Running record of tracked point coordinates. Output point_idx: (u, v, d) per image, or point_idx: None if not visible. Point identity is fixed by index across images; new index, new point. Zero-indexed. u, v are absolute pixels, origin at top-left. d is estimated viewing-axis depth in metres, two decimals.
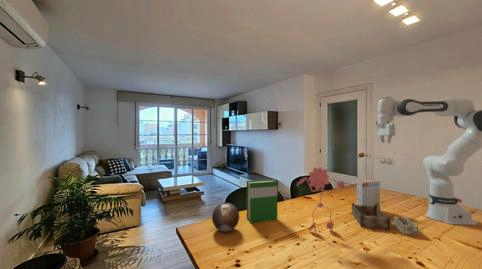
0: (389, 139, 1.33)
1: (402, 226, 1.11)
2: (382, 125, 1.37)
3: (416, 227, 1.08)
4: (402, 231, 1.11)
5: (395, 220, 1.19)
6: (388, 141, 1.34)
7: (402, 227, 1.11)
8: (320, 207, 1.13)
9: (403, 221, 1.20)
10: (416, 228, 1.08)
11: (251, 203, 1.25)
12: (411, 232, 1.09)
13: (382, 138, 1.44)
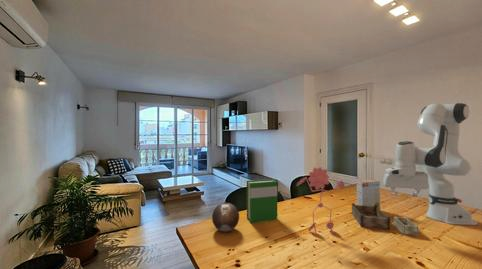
0: None
1: (402, 226, 1.11)
2: (411, 176, 1.12)
3: (416, 227, 1.08)
4: (402, 231, 1.11)
5: (395, 220, 1.19)
6: None
7: (402, 227, 1.11)
8: (320, 207, 1.13)
9: (403, 221, 1.20)
10: (416, 228, 1.08)
11: (251, 203, 1.25)
12: (411, 232, 1.09)
13: None
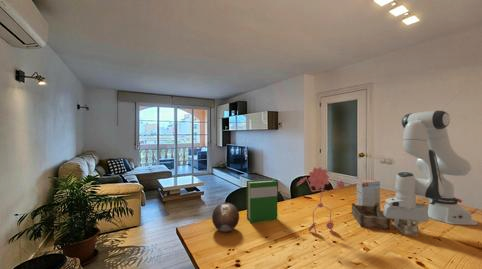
0: None
1: (402, 226, 1.11)
2: (411, 208, 1.12)
3: (416, 227, 1.08)
4: (402, 231, 1.11)
5: None
6: None
7: (402, 227, 1.11)
8: (320, 207, 1.13)
9: (403, 221, 1.20)
10: (416, 228, 1.08)
11: (251, 203, 1.25)
12: (411, 232, 1.09)
13: (395, 221, 1.16)
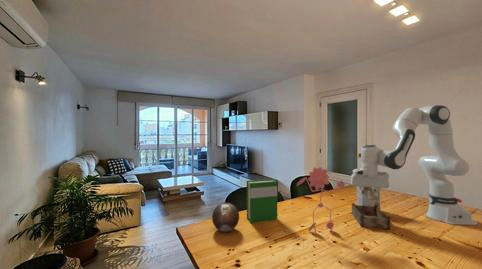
0: None
1: (365, 192, 1.24)
2: (374, 176, 1.25)
3: (377, 192, 1.21)
4: (365, 196, 1.24)
5: (361, 189, 1.32)
6: None
7: (365, 193, 1.24)
8: (320, 207, 1.13)
9: (368, 190, 1.32)
10: (377, 193, 1.21)
11: (251, 203, 1.25)
12: (373, 197, 1.22)
13: None
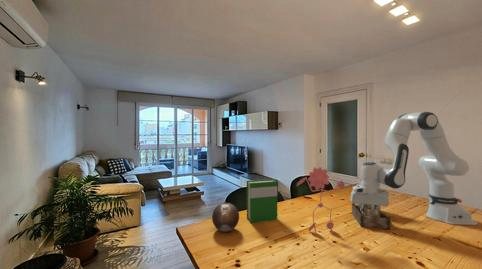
0: None
1: (365, 210, 1.24)
2: (373, 194, 1.25)
3: (377, 210, 1.21)
4: (365, 214, 1.24)
5: None
6: None
7: (365, 211, 1.24)
8: (320, 207, 1.13)
9: (368, 206, 1.32)
10: (377, 211, 1.21)
11: (251, 203, 1.25)
12: (372, 215, 1.22)
13: None
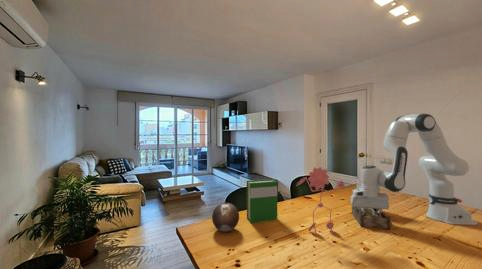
0: None
1: (365, 215, 1.24)
2: (374, 197, 1.25)
3: (377, 216, 1.21)
4: None
5: None
6: (379, 214, 1.26)
7: None
8: (320, 207, 1.13)
9: (369, 211, 1.32)
10: None
11: (251, 203, 1.25)
12: None
13: (359, 209, 1.29)
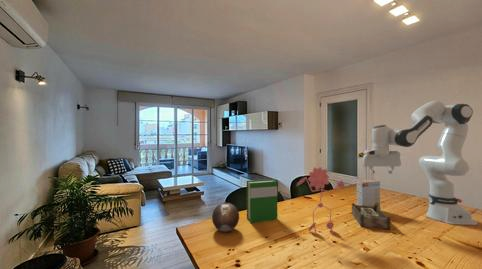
0: None
1: (365, 215, 1.24)
2: (385, 155, 1.27)
3: (377, 216, 1.21)
4: None
5: (361, 211, 1.32)
6: (391, 172, 1.28)
7: None
8: (320, 207, 1.13)
9: (369, 211, 1.32)
10: None
11: (251, 203, 1.25)
12: None
13: (371, 169, 1.31)
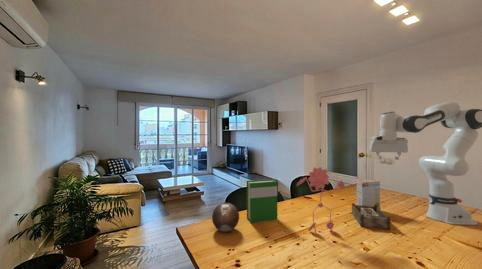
0: None
1: (365, 215, 1.24)
2: (393, 141, 1.29)
3: (377, 216, 1.21)
4: None
5: (361, 211, 1.32)
6: None
7: None
8: (320, 207, 1.13)
9: (369, 211, 1.32)
10: None
11: (251, 203, 1.25)
12: None
13: None
